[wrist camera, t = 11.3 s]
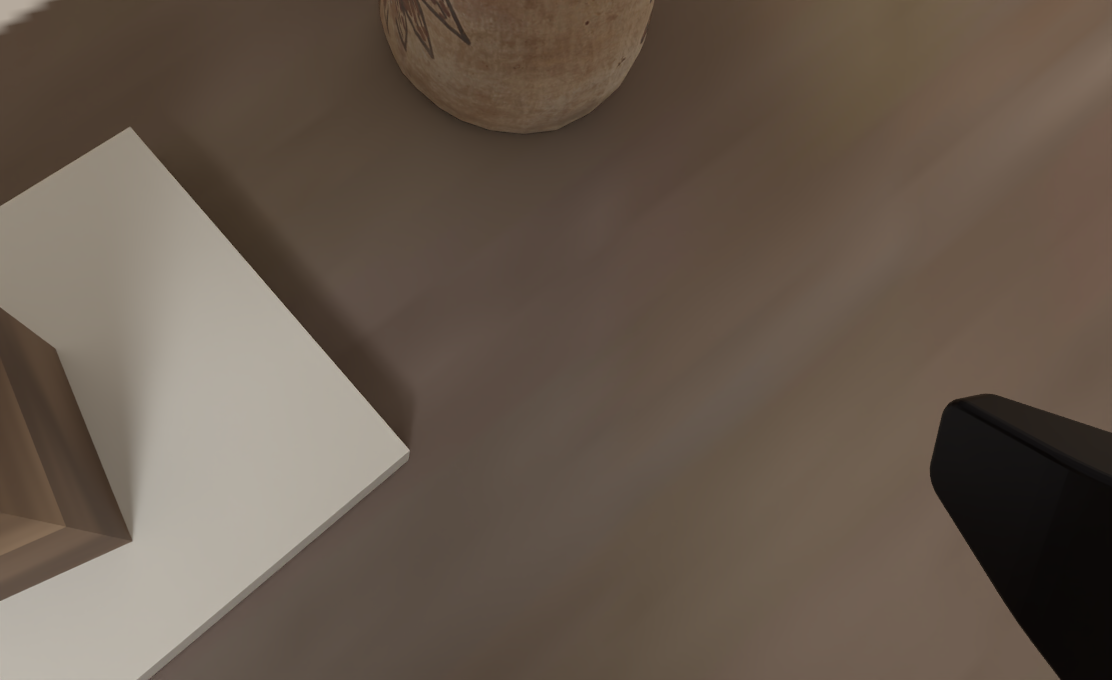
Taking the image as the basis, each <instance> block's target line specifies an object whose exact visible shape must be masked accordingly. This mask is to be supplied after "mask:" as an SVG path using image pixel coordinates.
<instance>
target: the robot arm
mask: <svg viewBox="0 0 1112 680" xmlns="http://www.w3.org/2000/svg"><path fill="white" fill-rule="evenodd" d="M930 477H931V482H932V485H933V488H934V490H935V492H936V494H937V496H938V497H939V499H940V501H941V502H942V504H943V505H944V507H945V509H946V510H947V512H948V513H949V515H950V517H951V518H952V520H953V521H954V523H955V525H956V526H957V528H958V529H959V531H960V533H961V534H962V536H963V537H964V539H965V541H966V542H967V544H968V545H969V547H970V549H971V550H972V552H973V553H974V555H975V557H976V558H977V560H978V561H979V563H980V565H981V566H982V568H983V569H984V571H985V573H986V574H987V576H988V577H989V579H990V581H991V582H992V584H993V585H994V587H995V589H996V590H997V592H998V593H999V595H1000V596H1001V598H1002V600H1003V601H1004V603H1005V604H1006V606H1007V607H1008V609H1009V610H1010V612H1011V613H1012V615H1013V616H1014V618H1015V619H1016V621H1017V622H1018V624H1019V625H1020V626H1021V628H1022V629H1023V631H1024V632H1025V633H1026V635H1027V636H1028V637H1029V639H1030V640H1031V642H1032V643H1033V644H1034V646H1035V647H1036V648H1037V650H1038V651H1039V652H1040V653H1041V655H1042V656H1043V657H1044V659H1045V660H1046V661H1047V663H1048V664H1049V665H1050V667H1051V668H1052V669H1053V670H1054V672H1055V673H1056V674H1057V676H1058V677H1059V678H1060V680H1112V433H1111V432H1108V431H1104V430H1101V429H1098V428H1095V427H1092V426H1089V425H1086V424H1083V423H1080V422H1077V421H1074V420H1071V419H1068V418H1065V417H1062V416H1059V415H1056V414H1053V413H1050V412H1047V411H1043V410H1040V409H1037V408H1034V407H1031V406H1028V405H1025V404H1022V403H1019V402H1016V401H1013V400H1010V399H1007V398H1004V397H1001V396H998V395H994V394H980V395H975V396H970V397H965V398H960V399H956V400H953V401H952V402H950V403H949V404H948V405H947V406H946V408H945V409H944V411H943V414H942V417H941V421H940V426H939V430H938V434H937V438H936V442H935V447H934V451H933V455H932V459H931V464H930Z"/></svg>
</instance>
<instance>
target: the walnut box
mask: <svg viewBox="0 0 1112 680" xmlns="http://www.w3.org/2000/svg"><path fill="white" fill-rule="evenodd" d="M130 542H132V538H131V536H130V533H129V531H128V528H127V526H126V523H125V521H124V518H123V516H122V513H121V511H120V508H119V506H118V503H117V501H116V498H115V496H114V493H113V491H112V488H111V486H110V483H109V481H108V478H107V476H106V474H105V471H104V469H103V466H102V464H101V461H100V459H99V456H98V454H97V451H96V449H95V446H94V444H93V441H92V439H91V436H90V434H89V431H88V429H87V426H86V424H85V421H84V419H83V416H82V414H81V411H80V409H79V406H78V404H77V401H76V399H75V396H74V394H73V391H72V389H71V386H70V384H69V381H68V379H67V376H66V374H65V371H64V369H63V366H62V364H61V361H60V359H59V356H58V354H57V351H56V349H55V348H54V347H53V346H51V345H50V344H49V343H47V342H46V341H45V340H43V339H42V338H41V337H39V336H38V335H37V334H35V333H34V332H33V331H31V330H30V329H29V328H27V327H26V326H25V325H23V324H22V323H21V322H19V321H18V320H17V319H15V318H14V317H13V316H11V315H10V314H9V313H7V312H6V311H5V310H3V309H2V308H1V307H0V601H2V600H4V599H6V598H8V597H11V596H13V595H15V594H17V593H19V592H22V591H24V590H26V589H28V588H30V587H33V586H35V585H37V584H39V583H42V582H44V581H46V580H48V579H50V578H53V577H55V576H57V575H59V574H61V573H64V572H66V571H68V570H70V569H72V568H75V567H77V566H79V565H81V564H84V563H86V562H88V561H90V560H92V559H95V558H97V557H99V556H101V555H103V554H106V553H108V552H110V551H112V550H114V549H117V548H119V547H121V546H123V545H126V544H128V543H130Z"/></svg>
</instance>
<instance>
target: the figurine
mask: <svg viewBox="0 0 1112 680" xmlns="http://www.w3.org/2000/svg"><path fill="white" fill-rule="evenodd" d="M654 1H655V0H379V10H380V18H381V22H382V25H383V29H384V33H385V36H386V38H387V41H388V43H389V46H390V48H391V51H392V53H393V56H394V58H395V60H396V62H397V63H398V65H399V67H400V69H401V71H402V73H403V74H404V75H405V76H406V77H407V78H408V79H409V80H410V81H411V82H412V84H413V85H414V86H415V87H416V88H417V89H418V90H419V91H421V92H422V93H423V94H424V95H425V96H427V97H428V98H429V99H430V100H431V101H432V102H433V103H434V104H436V105H437V106H438V107H439V108H441V109H443V110H444V111H446V112H448V113H449V114H451V115H453V116H454V117H456V118H458V119H459V120H462V121H465V122H468V123H471V124H474V125H477V126H479V127H482V128H485V129H488V130H493V131H502V132H511V133H520V134H528V133H536V132H544V131H552V130H557V129H559V128H561V127H563V126H565V125H567V124H569V123H571V122H573V121H575V120H577V119H579V118H581V117H583V116H585V115H587V114H589V113H590V112H592V111H593V110H594V109H595V108H596V107H597V106H598V105H600V104H601V103H602V102H603V101H604V100H605V99H606V98H608V97H609V96H610V95H611V94H612V93H613V92H614V91H615V90H617V89H618V88H619V86H620V85H621V83H622V82H623V80H624V78H625V77H626V75H627V73H628V71H629V70H630V68H631V66H632V65H633V63H634V61H635V59H636V58H637V56H638V54H639V52H640V50H641V48H642V46H643V44H644V41H645V38H646V34H647V30H648V26H649V23H650V19H651V14H652V10H653V5H654Z"/></svg>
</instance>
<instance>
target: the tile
mask: <svg viewBox="0 0 1112 680" xmlns="http://www.w3.org/2000/svg"><path fill="white" fill-rule="evenodd" d="M0 307H1V308H2V309H3V310H5V311H6V312H7V313H9V314H10V315H11V316H13V317H14V318H15V319H17V320H18V321H19V322H21V323H22V324H23V325H25V326H26V327H27V328H29V329H30V330H31V331H33V332H34V333H35V334H37V335H38V336H39V337H41V338H42V339H43V340H45V341H46V342H47V343H49V344H50V345H51V346H53V347H54V348H55V349H56V351H57V354H58V356H59V359H60V361H61V364H62V366H63V369H64V371H65V374H66V376H67V379H68V381H69V384H70V386H71V389H72V391H73V394H74V396H75V399H76V401H77V404H78V406H79V409H80V411H81V414H82V416H83V419H84V421H85V424H86V426H87V429H88V431H89V434H90V436H91V439H92V441H93V444H94V446H95V449H96V451H97V454H98V456H99V459H100V461H101V464H102V466H103V469H104V471H105V474H106V476H107V478H108V481H109V483H110V486H111V488H112V491H113V493H114V496H115V498H116V501H117V503H118V506H119V508H120V511H121V513H122V516H123V518H124V521H125V523H126V526H127V528H128V531H129V533H130V536H131V538H132V542H130V543H128V544H126V545H123V546H121V547H119V548H117V549H114V550H112V551H110V552H108V553H106V554H103V555H101V556H99V557H97V558H95V559H92V560H90V561H88V562H86V563H84V564H81V565H79V566H77V567H75V568H72V569H70V570H68V571H66V572H64V573H61V574H59V575H57V576H55V577H53V578H50V579H48V580H46V581H44V582H42V583H39V584H37V585H35V586H33V587H30V588H28V589H26V590H24V591H22V592H19V593H17V594H15V595H13V596H11V597H8V598H6V599H4V600H2V601H0V680H148V679H149V678H151V677H152V676H153V675H154V674H155V673H157V672H158V671H159V670H160V669H161V668H162V667H164V666H165V665H166V664H167V663H168V662H170V661H171V660H172V659H173V658H174V657H176V656H177V655H178V654H179V653H180V652H181V651H183V650H184V649H185V648H186V647H187V646H189V645H190V644H191V643H192V642H193V641H195V640H196V639H197V638H198V637H199V636H200V635H202V634H203V633H204V632H205V631H206V630H208V629H209V628H210V627H211V626H212V625H214V624H215V623H216V622H217V621H218V620H219V619H221V618H222V617H223V616H224V615H225V614H227V613H228V612H229V611H230V610H231V609H232V608H234V607H235V606H236V605H237V604H238V603H240V602H241V601H242V600H243V599H244V598H246V597H247V596H248V595H249V594H250V593H251V592H253V591H254V590H255V589H256V588H257V587H259V586H260V585H261V584H262V583H263V582H265V581H266V580H267V579H268V578H269V577H270V576H272V575H273V574H274V573H275V572H276V571H278V570H279V569H280V568H281V567H282V566H284V565H285V564H286V563H287V562H288V561H289V560H291V559H292V558H293V557H294V556H295V555H297V554H298V553H299V552H300V551H301V550H303V549H304V548H305V547H306V546H307V545H308V544H310V543H311V542H312V541H313V540H314V539H316V538H317V537H318V536H319V535H320V534H321V533H323V532H324V531H325V530H326V529H327V528H329V527H330V526H331V525H332V524H333V523H335V522H336V521H337V520H338V519H339V518H340V517H342V516H343V515H344V514H345V513H346V512H348V511H349V510H350V509H351V508H352V507H354V506H355V505H356V504H357V503H358V502H359V501H361V500H362V499H363V498H364V497H365V496H367V495H368V494H369V493H370V492H371V491H373V490H374V489H375V488H376V487H377V486H378V485H380V484H381V483H382V482H383V481H384V480H386V479H387V478H388V477H389V476H390V475H392V474H393V473H394V472H395V471H396V470H397V469H399V468H400V467H401V466H402V465H403V464H405V463H406V462H407V461H408V459H409V453H410V450H409V449H408V448H407V447H406V445H405V444H404V443H403V442H402V441H401V440H400V439H399V437H398V436H397V435H396V434H395V433H394V432H393V430H392V429H391V428H390V427H389V426H388V425H387V423H386V422H385V421H384V420H383V419H382V418H381V417H380V415H379V414H378V413H377V412H376V411H375V410H374V408H373V407H372V406H371V405H370V404H369V403H368V401H367V400H366V399H365V398H364V397H363V396H362V395H361V393H360V392H359V391H358V390H357V389H356V388H355V386H354V385H353V384H352V383H351V382H350V381H349V379H348V378H347V377H346V376H345V375H344V374H343V373H342V371H341V370H340V369H339V368H338V367H337V366H336V364H335V363H334V362H333V361H332V360H331V359H330V358H329V356H328V355H327V354H326V353H325V352H324V351H323V349H322V348H321V347H320V346H319V345H318V344H317V342H316V341H315V340H314V339H313V338H312V337H311V336H310V334H309V333H308V332H307V331H306V330H305V329H304V327H303V326H302V325H301V324H300V323H299V322H298V320H297V319H296V318H295V317H294V316H293V315H292V314H291V312H290V311H289V310H288V309H287V308H286V307H285V305H284V304H283V303H282V302H281V301H280V300H279V298H278V297H277V296H276V295H275V294H274V293H273V292H272V290H271V289H270V288H269V287H268V286H267V285H266V283H265V282H264V281H263V280H262V279H261V278H260V276H259V275H258V274H257V273H256V272H255V271H254V270H253V268H252V267H251V266H250V265H249V264H248V263H247V261H246V260H245V259H244V258H243V257H242V256H241V254H240V253H239V252H238V251H237V250H236V249H235V248H234V246H233V245H232V244H231V243H230V242H229V241H228V239H227V238H226V237H225V236H224V235H223V234H222V233H221V231H220V230H219V229H218V228H217V227H216V226H215V224H214V223H213V222H212V221H211V220H210V219H209V217H208V216H207V215H206V214H205V213H204V212H203V211H202V209H201V208H200V207H199V206H198V205H197V204H196V202H195V201H194V200H193V199H192V198H191V197H190V195H189V194H188V193H187V192H186V191H185V190H184V189H183V187H182V186H181V185H180V184H179V183H178V182H177V180H176V179H175V178H174V177H173V176H172V175H171V173H170V172H169V171H168V170H167V169H166V168H165V167H164V165H163V164H162V163H161V162H160V161H159V160H158V158H157V157H156V156H155V155H154V154H153V153H152V151H151V150H150V149H149V148H148V147H147V146H146V145H145V143H144V142H143V141H142V140H141V139H140V138H139V136H138V135H137V134H136V133H135V132H134V131H133V129H132V128H131V127H129V128H127V129H125V130H124V131H122V132H120V133H119V134H117V135H116V136H114V137H112V138H111V139H109V140H107V141H106V142H104V143H103V144H101V145H99V146H98V147H96V148H94V149H93V150H91V151H89V152H88V153H86V154H85V155H83V156H81V157H80V158H78V159H76V160H75V161H73V162H72V163H70V164H68V165H67V166H65V167H63V168H62V169H60V170H58V171H57V172H55V173H54V174H52V175H50V176H49V177H47V178H45V179H44V180H42V181H41V182H39V183H37V184H36V185H34V186H32V187H31V188H29V189H27V190H26V191H24V192H23V193H21V194H19V195H18V196H16V197H14V198H13V199H11V200H9V201H8V202H6V203H5V204H3V205H1V206H0Z"/></svg>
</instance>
